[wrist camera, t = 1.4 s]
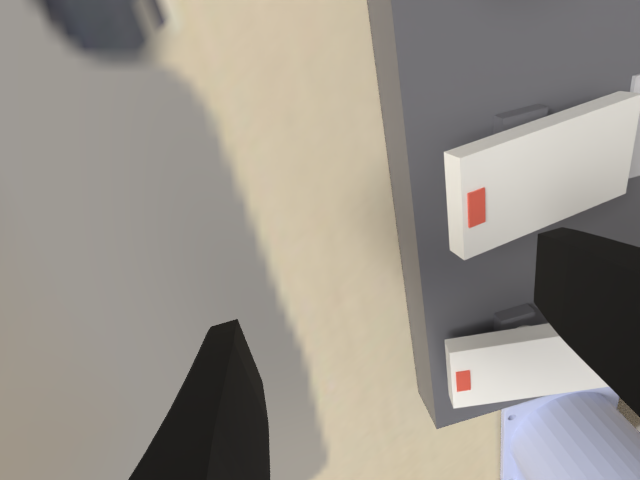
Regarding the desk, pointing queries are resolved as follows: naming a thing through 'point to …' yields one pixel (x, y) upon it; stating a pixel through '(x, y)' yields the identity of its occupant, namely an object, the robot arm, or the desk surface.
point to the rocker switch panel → (477, 123)
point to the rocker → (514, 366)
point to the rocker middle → (539, 172)
